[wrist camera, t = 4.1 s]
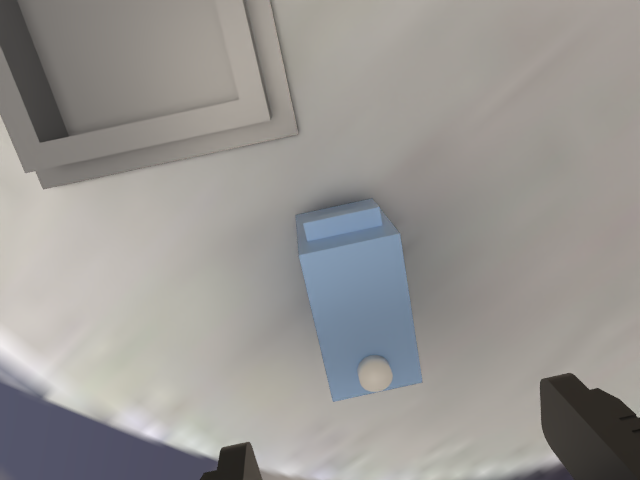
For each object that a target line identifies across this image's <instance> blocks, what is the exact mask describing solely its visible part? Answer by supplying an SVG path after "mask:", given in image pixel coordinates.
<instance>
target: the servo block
mask: <svg viewBox="0 0 640 480" xmlns="http://www.w3.org/2000/svg"><path fill="white" fill-rule="evenodd" d="M296 226H297V240H298V253H299V259H300V263H301V267H302V272H303V276H304V280H305V284H306V289H307V293H308V297H309V301H310V306H311V310H312V314H313V319H314V323H315V327H316V331H317V336H318V340H319V344H320V348H321V353H322V357H323V361H324V365H325V370H326V374H327V378H328V382H329V387H330V391H331V395H332V400H333V402H335V401H339V400H344V399H348V398H353V397H358V396H362V395H367V394H371V393H376V392H381V391H385V390H390V389H394V388H399V387H404V386H408V385H413V384H417V383H422V376H421V369H420V362H419V356H418V349H417V343H416V336H415V329H414V323H413V316H412V309H411V303H410V296H409V290H408V283H407V276H406V270H405V263H404V257H403V250H402V243H401V237H400V233H399V232H398V230H397V229H396V228H395V227H394V225H393V224H392V223H391V222H390V220H389V219H388V218H387V217H386V215H385V214H384V213H383V212H382V210H381V209H380V207H379V206H378V205H377V204H376V203H375V202H374V200H373V199H372V198H371V199H367V200H362V201H358V202H353V203H348V204H344V205H339V206H334V207H330V208H325V209H321V210H316V211H311V212H307V213H302V214H297V215H296Z"/></svg>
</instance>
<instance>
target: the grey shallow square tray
mask: <svg viewBox="0 0 640 480" xmlns="http://www.w3.org/2000/svg"><path fill="white" fill-rule="evenodd" d="M0 115H1V117H2V120H3V122H4V124H5V127H6V129H7V131H8V134H9V136H10V138H11V141H12V143H13V145H14V148H15V150H16V152H17V155H18V157H19V160H20V162H21V164H22V167H23V169H24V171H25V173H28V172H33V171H36V174H37V176H38V178H39V181H40V183H41V186H42V188H43V189H47V188H52V187H57V186H61V185H66V184H71V183H75V182H80V181H85V180H89V179H94V178H98V177H103V176H108V175H112V174H117V173H122V172H126V171H131V170H136V169H140V168H145V167H149V166H154V165H159V164H163V163H168V162H173V161H177V160H182V159H187V158H191V157H196V156H201V155H205V154H210V153H214V152H219V151H224V150H228V149H233V148H238V147H242V146H247V145H252V144H256V143H261V142H265V141H270V140H275V139H279V138H284V137H289V136H293V135H298V130H297V125H296V120H295V116H294V111H293V106H292V102H291V97H290V92H289V88H288V83H287V78H286V74H285V69H284V64H283V60H282V55H281V50H280V45H279V41H278V36H277V31H276V27H275V22H274V17H273V13H272V8H271V3H270V0H0Z"/></svg>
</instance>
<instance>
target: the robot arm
mask: <svg viewBox="0 0 640 480" xmlns="http://www.w3.org/2000/svg"><path fill="white" fill-rule="evenodd" d="M540 400H541V424H542V429H543V433H544V435H545V438H546V440H547V442H548V444H549V446H550V447H551V449H552V450H553V452H554V453H555V454H556V456H557V457H558V458H559V460H560V461H561V462H562V464H563V465H564V466H565V468H566V469H567V470H568V472H569V473H570V474H571V476H572V477H573V478H574V480H640V418H637V416H636V414H635V413H634V412H633V411H632V410H631V409H630V408H628V407H627V406H626V405H625V404H624V403H623V402H622V401H621V400H620V399H618V398H616V397H614V396H612V395H610V394H608V393H606V392H604V391H602V390H600V389H599V388H596V389H592V390H589V389H588V388H587V387H586V386H585V385H584V384H583V383H582V382H581V381H580V380H579V379H578V378H577V377H576V376H575V375H573V374H571V373H567V374H562V375H558V376H553V377H549V378H544V379H542V380H541V382H540ZM200 480H262V477H261V474H260V471H259V467H258V464H257V461H256V458H255V455H254V451H253V448H252V445H251V443H250V442H245V443H241V444H236V445H231V446H227V447H223V448H222V449H221V451H220V455H219V461H218V467H217V470H216V471H211V472H207V473H204V474H203V476H202V477H201V479H200Z"/></svg>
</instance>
